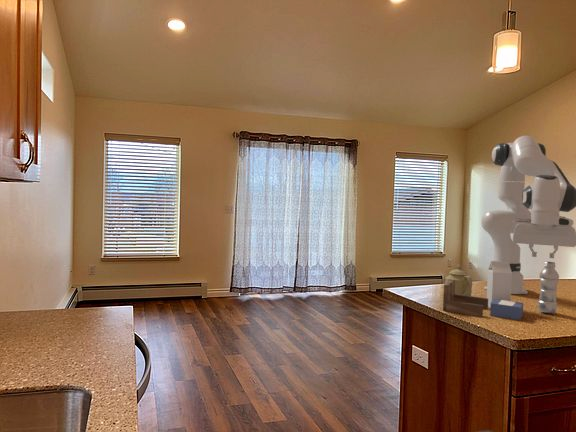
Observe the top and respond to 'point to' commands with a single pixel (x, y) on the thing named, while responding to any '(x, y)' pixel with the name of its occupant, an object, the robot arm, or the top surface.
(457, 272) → the sugar bowl
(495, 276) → the milk carton
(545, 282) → the plastic bottle
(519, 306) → the navy carton
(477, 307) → the stand
